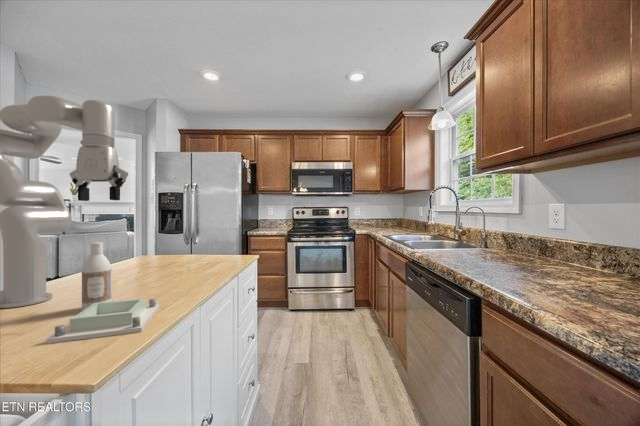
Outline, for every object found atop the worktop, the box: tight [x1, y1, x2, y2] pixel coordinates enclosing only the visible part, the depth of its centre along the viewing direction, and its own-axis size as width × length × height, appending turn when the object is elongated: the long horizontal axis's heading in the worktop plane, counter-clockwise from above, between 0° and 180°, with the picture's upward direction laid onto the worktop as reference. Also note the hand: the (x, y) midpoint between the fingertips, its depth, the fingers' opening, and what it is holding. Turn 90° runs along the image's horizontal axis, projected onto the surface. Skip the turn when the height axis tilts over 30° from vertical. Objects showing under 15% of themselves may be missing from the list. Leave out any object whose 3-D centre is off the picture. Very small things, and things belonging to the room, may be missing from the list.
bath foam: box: [81, 241, 112, 311], centre depth 82 cm, size 7×7×20 cm
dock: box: [46, 297, 160, 344], centre depth 71 cm, size 18×18×4 cm
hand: (99, 200), depth 81 cm, fingers open, 9 cm apart
